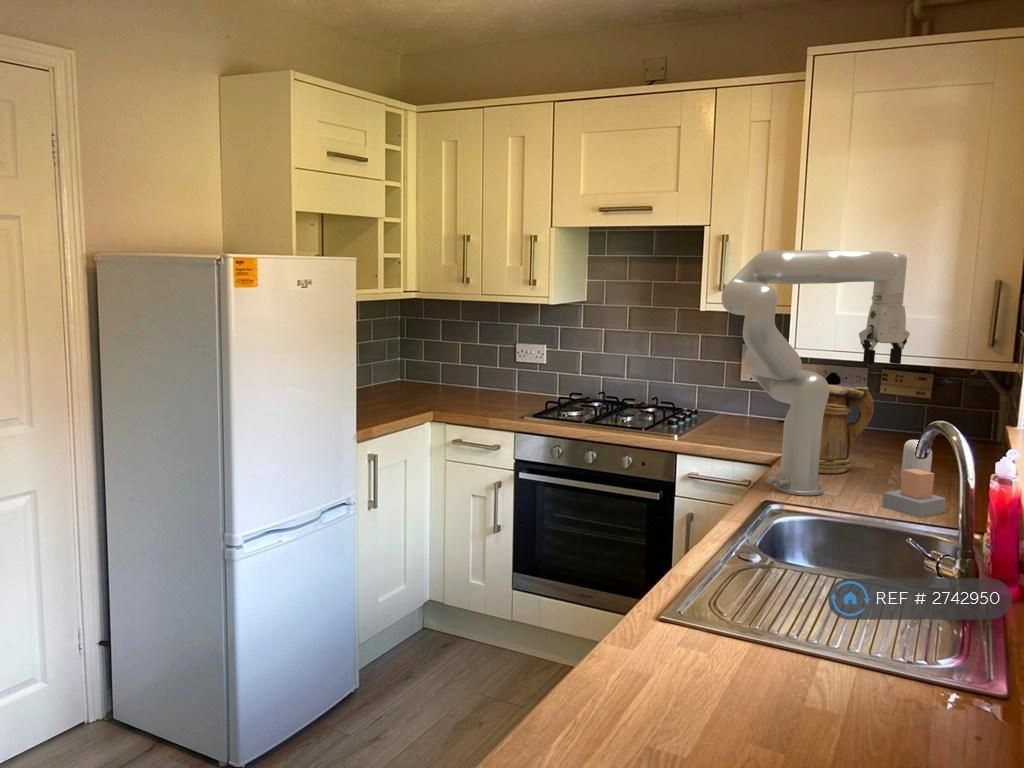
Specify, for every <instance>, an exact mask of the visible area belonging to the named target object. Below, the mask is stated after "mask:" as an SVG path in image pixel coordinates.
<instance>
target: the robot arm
mask: <svg viewBox="0 0 1024 768" xmlns="http://www.w3.org/2000/svg"><path fill="white" fill-rule="evenodd" d="M907 257H908V256H906V254H904V253H899V252H898V253H896V252H890V251H885V250H883V251H881V250H879V251H877V250H876V251H872V250H871V251H843V250H834V249H833V250H832V249H816V250H815V249H814V250H813V249H811V250H810V249H807V250H802V249H800V250H798V249H797V250H790V249H789V250H763V251H761V252H759V253H757V254H756V255H755V256H754V257H752V259H750V260H749V261H748V262H747V263H746V264H745V265H744V266H743V267H742V268H741V269H740V270H739V271H738V272H737V273H736V275H734V277H733V278H732V279H731V280H730V281H728V283H727V284H726V286H725V287H724V288H723V289H722V290H723V291H722V292H721V293H722V294H721V303H722V304H721V305H722V306H723V308H724V310H726V311H727V312H728V313H729V314H730V313H731V314H733V315H738V316H744V321H743V325H742V326H743V327H742V338H743V341H744V344H745V345H746V347H747V349H746V350H745V354H744V363H745V366H746V369H747V371H748V372H749V374H750V375H751V376H752V378H754V380H755V381H756V382H757V383H758V384H759V386H760V387H761V388H762V389H763V390H765V392H766V393H767V394H768V395H769V396H770V397H771V398H773V399H774V400H775V401H777V402H781V403H785V404H787V405H788V404H789V405H790V407H789V409H788V411H787V413H786V415H785V418H784V422H783V435H782V447H781V460H780V471H777V473H776V475H775V476H767V477H765V484H767V485H773V489H775V490H776V491H778V492H782V493H785V494H789V495H795V496H818V495H822V494H823V493H824V487H823V485H821V484H819V483H818V480H819V473H818V471H819V459H820V447H821V435H822V424H823V416H824V411H825V407H826V404H827V401H828V397H829V385H830V384H829V383H828V381H827V379H825V377H824V376H822V374H821V375H820V373H819V374H818V373H817V372H813V371H810V370H806V369H805V370H804V369H802V363H803V362H802V359H801V357H800V355H799V353H798V352H797V350H795V348H794V347H793V346H792V345H791V344H790V343H789V341H788V340H787V339H786V338H785V336H783V334H782V333H781V332H780V331H779V329H778V328H777V326H776V320H775V317H776V311H777V307H778V296H777V292H776V291H775V289H774V288H773V287H772V286H771V285H769V284H772V285H773V284H775V285H804V284H805V285H807V284H808V285H809V284H811V285H813V284H814V285H815V284H816V285H818V284H820V285H821V284H841V283H843V284H844V283H859V282H860V283H863V282H865V283H867V282H869V283H870V282H873V289H872V296H871V300H872V302H871V305H870V308H869V312H868V315H867V322H866V328H865V329H863V330H862V331H860V332H859V333H858V337H859V340H860V341H859V342H860V345H861V346H862V349H863V358H862V359H863V361H862V364H864V365H870V366H873V365H875V359H876V350H875V347H876V346H877V345H878V343H880V344H890V345H891V347H892V348H890V354H889V363H890V364H893V365H900V364H901V363H902V355H903V354H902V353H903V350H904V348H905V345H906V344H907V342H908V339H909V337H910V332H909V331H908V330H907V329H906V327H907V325H906V324H907V322H906V321H907V320H906V319H907V318H906V317H907V316H906V306H905V305H904V297H905V296H904V295H905V285H906V275H907V274H906V273H907V267H908V266H907V265H908V258H907ZM828 384H829V385H828Z"/></svg>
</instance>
